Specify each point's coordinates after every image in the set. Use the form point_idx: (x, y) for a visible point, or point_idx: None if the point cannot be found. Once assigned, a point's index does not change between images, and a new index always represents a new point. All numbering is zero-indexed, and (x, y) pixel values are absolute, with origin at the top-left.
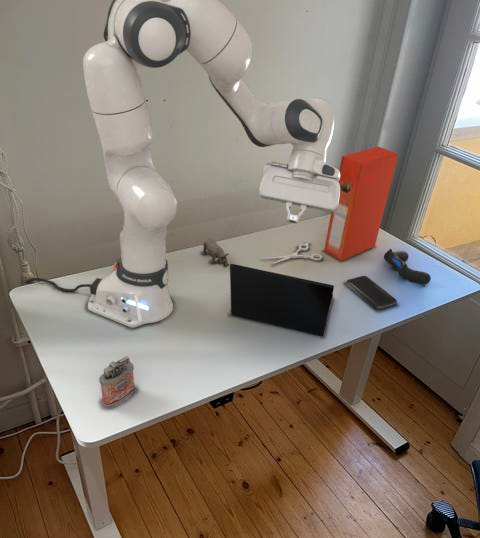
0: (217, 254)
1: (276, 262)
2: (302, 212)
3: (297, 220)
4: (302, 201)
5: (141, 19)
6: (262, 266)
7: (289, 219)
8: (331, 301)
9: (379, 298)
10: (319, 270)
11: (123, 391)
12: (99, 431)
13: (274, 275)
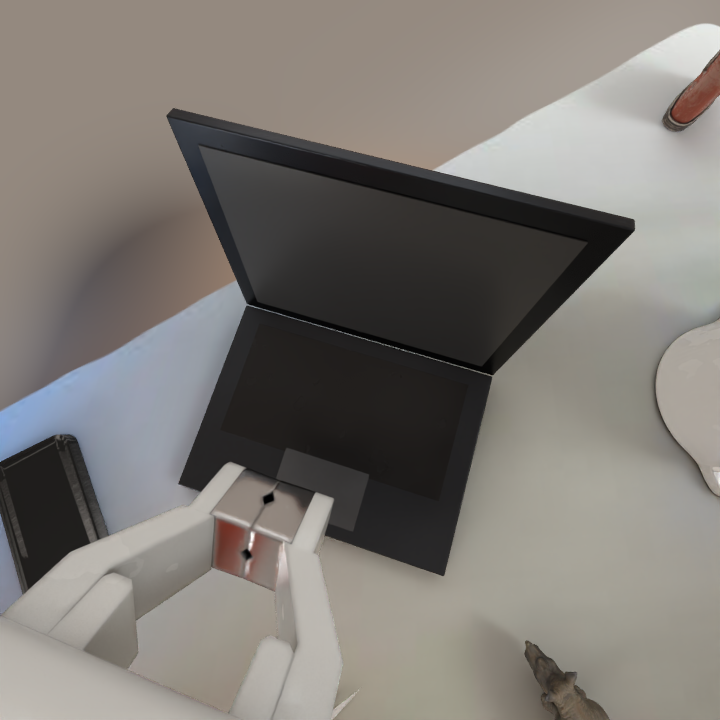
0: (586, 703)
1: (339, 705)
2: (132, 529)
3: (228, 472)
4: (2, 673)
5: None
6: (391, 678)
7: (307, 496)
8: (193, 444)
9: (40, 482)
10: (188, 665)
11: (697, 77)
12: (694, 37)
13: (417, 169)
